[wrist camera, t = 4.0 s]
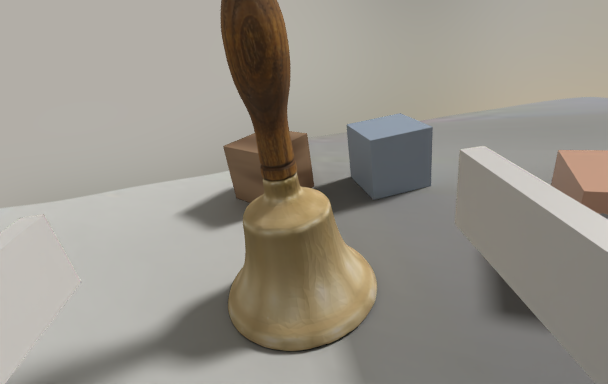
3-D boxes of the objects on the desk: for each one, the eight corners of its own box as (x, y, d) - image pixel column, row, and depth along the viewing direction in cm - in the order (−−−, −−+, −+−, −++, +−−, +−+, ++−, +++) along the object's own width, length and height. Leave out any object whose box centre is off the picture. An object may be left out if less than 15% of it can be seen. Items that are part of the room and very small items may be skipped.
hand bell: (206, 287, 21) (99, -22, 14) (315, 230, 25) (277, -34, 17) (278, 388, 14) (148, -94, 7) (410, 289, 18) (410, -86, 11)
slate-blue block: (401, 165, 32) (400, 113, 30) (430, 186, 28) (432, 126, 26) (351, 177, 32) (346, 124, 30) (373, 200, 27) (370, 140, 25)
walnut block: (275, 177, 34) (266, 128, 32) (314, 186, 31) (306, 133, 29) (236, 198, 31) (223, 146, 29) (275, 212, 28) (263, 154, 26)
